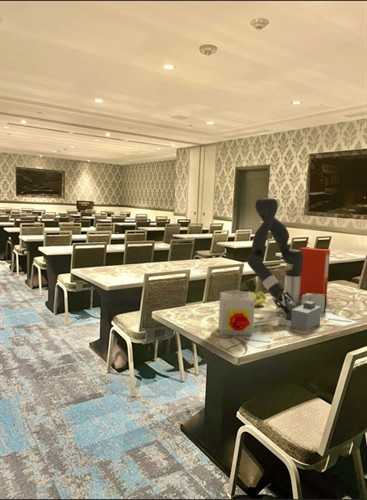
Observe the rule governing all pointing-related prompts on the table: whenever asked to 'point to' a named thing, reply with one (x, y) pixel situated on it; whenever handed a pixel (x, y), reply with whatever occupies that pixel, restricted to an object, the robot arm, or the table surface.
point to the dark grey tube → (290, 307)
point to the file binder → (314, 271)
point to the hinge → (316, 300)
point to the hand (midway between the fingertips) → (292, 311)
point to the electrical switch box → (236, 313)
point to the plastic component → (258, 298)
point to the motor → (303, 316)
